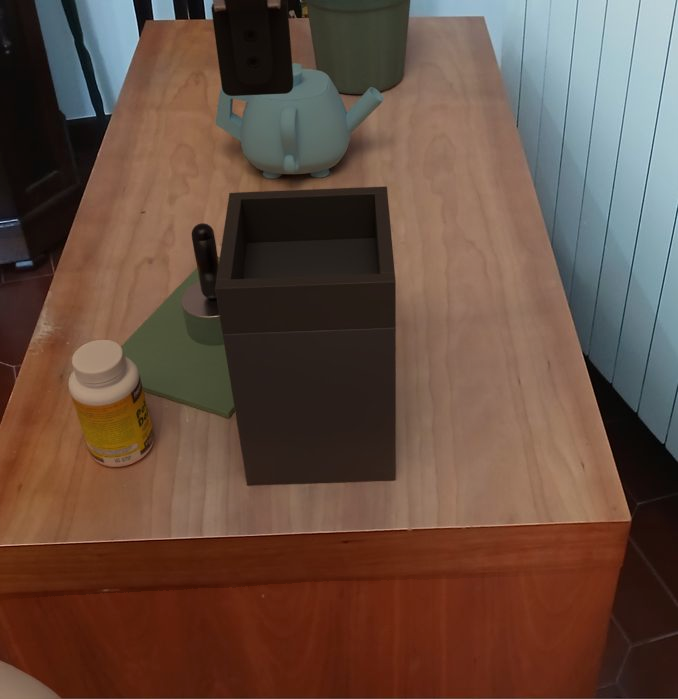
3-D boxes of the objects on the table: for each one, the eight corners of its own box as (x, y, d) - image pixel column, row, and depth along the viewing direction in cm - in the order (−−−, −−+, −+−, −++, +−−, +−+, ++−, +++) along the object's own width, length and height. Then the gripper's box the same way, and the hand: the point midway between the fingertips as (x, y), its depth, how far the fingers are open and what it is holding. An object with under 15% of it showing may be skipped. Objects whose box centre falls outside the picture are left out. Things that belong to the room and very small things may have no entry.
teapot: (212, 198, 107) (198, 104, 99) (229, 130, 120) (218, 41, 112) (384, 195, 106) (384, 100, 98) (383, 126, 119) (383, 37, 111)
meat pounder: (229, 352, 86) (213, 250, 78) (174, 336, 88) (153, 235, 80) (260, 314, 90) (247, 214, 82) (207, 300, 92) (190, 201, 84)
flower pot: (284, 67, 133) (274, -48, 123) (385, 43, 138) (384, -69, 128) (331, 113, 122) (325, -9, 111) (439, 86, 127) (443, -34, 116)
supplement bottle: (158, 463, 76) (134, 372, 70) (90, 476, 76) (60, 385, 69) (153, 416, 81) (131, 327, 74) (89, 428, 80) (60, 339, 73)
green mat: (228, 418, 80) (228, 413, 80) (97, 376, 85) (96, 371, 84) (328, 288, 93) (327, 283, 93) (209, 258, 98) (209, 254, 98)
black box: (395, 480, 74) (395, 281, 61) (247, 485, 74) (214, 288, 61) (388, 378, 83) (387, 186, 70) (255, 383, 83) (229, 192, 70)
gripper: (153, -404, 41) (205, -13, 52) (71, -380, 28) (165, 136, 39) (322, -413, 41) (338, -19, 52) (320, -393, 28) (342, 128, 39)
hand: (264, 47), depth 45 cm, fingers open, 9 cm apart
